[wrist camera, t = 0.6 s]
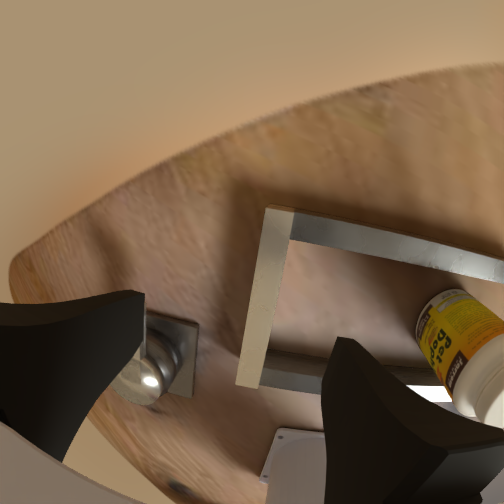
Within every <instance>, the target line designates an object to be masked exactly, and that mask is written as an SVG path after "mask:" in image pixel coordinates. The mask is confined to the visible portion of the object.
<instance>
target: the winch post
mask: <svg viewBox="0 0 504 504" xmlns="http://www.w3.org/2000/svg"><path fill="white" fill-rule="evenodd" d="M198 334H199V324H195V323H191V322H187V321H183V320H179V319H175V318H171V317H167V316H163V315H160V314H156V313H152V312H149V311H146V355H148V356H149V357H150V358H152V359H153V360H154V361H155V362H156V363H157V365H158V366H159V367H160V369H161V371H162V373H163V375H164V379H165V387H164V389H163V391H162V393H161V394H160V396H162V395H164V394H165V393H166V392H169V393H172V394H176V395H179V396H182V397H186V398H189V399H192V397H193V394H194V380H195V368H196V356H197V344H198ZM160 396H159V397H160Z"/></svg>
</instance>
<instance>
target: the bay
mask: <svg viewBox="0 0 504 504" xmlns="http://www.w3.org/2000/svg"><path fill="white" fill-rule="evenodd" d="M289 239H291V240H296V241H302V242H307V243H312V244H317V245H322V246H328V247H333V248H338V249H343V250H348V251H353V252H358V253H363V254H368V255H373V256H378V257H383V258H388V259H392V260H397V261H402V262H407V263H412V264H416V265H421V266H426V267H430V268H435V269H440V270H444V271H449V272H454V273H458V274H463V275H467V276H472V277H476V278H480V279H485V280H489V281H494V282H498V283H502V284H504V258H502V257H499V256H495V255H492V254H488V253H485V252H481V251H478V250H474V249H471V248H467V247H463V246H460V245H456V244H452V243H448V242H445V241H441V240H437V239H433V238H429V237H425V236H421V235H417V234H413V233H409V232H404V231H400V230H396V229H392V228H387V227H383V226H379V225H374V224H370V223H365V222H361V221H356V220H351V219H347V218H342V217H337V216H332V215H327V214H322V213H317V212H312V211H307V210H302V209H297V208H291V207H286V206H280V205H275V204H269V205H268V206H267V207H266V209H265V215H264V221H263V227H262V233H261V239H260V245H259V250H258V256H257V262H256V268H255V274H254V280H253V286H252V291H251V297H250V303H249V309H248V314H247V320H246V326H245V332H244V337H243V343H242V349H241V355H240V360H239V366H238V372H237V377H236V383H235V385H239V386H244V387H249V388H254V389H258V385H263V386H268V387H274V388H279V389H285V390H292V391H298V392H305V393H312V394H320V395H321V383H322V379H323V376H324V373H325V371H326V368H327V365H328V362H329V359H328V358H321V357H315V356H308V355H302V354H296V353H290V352H284V351H279V350H273V349H268V348H267V346H268V341H269V337H270V332H271V327H272V323H273V318H274V313H275V309H276V304H277V299H278V294H279V289H280V284H281V279H282V274H283V269H284V264H285V259H286V254H287V249H288V244H289ZM382 366H384V367H385V368H386V369H387V370H388V371H389V372H390V373H391V374H393V375H394V376H395V377H396V378H398V379H399V380H400V381H401V382H402V383H404V384H405V385H406V386H408V387H409V388H410V389H412V390H413V391H415V392H416V393H418V394H419V395H421V396H422V397H424V398H426V399H427V400H429V401H431V402H433V401H452V400H451V398H450V397H449V395H448V393H447V391H446V390H445V388H444V386H443V385H442V383H441V381H440V380H439V378H438V376H437V375H436V373H435V372H434V370H433V369H426V368H411V367H398V366H387V365H382Z"/></svg>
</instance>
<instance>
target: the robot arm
mask: <svg viewBox="0 0 504 504" xmlns="http://www.w3.org/2000/svg"><path fill="white" fill-rule="evenodd" d="M144 302H145V294H144V293H141V292H137V291H134V290H122V291H116V292H111V293H107V294H102V295H97V296H92V297H88V298H82V299H77V300H71V301H65V302H57V303H46V304H10V303H0V504H145V503H143V502H140V501H138V500H135V499H133V498H130V497H128V496H125V495H123V494H121V493H118V492H116V491H114V490H112V489H110V488H107V487H105V486H103V485H101V484H99V483H97V482H95V481H93V480H91V479H89V478H88V477H86V476H84V475H82V474H80V473H78V472H76V471H75V470H73V469H71V468H69V467H67V466H66V465H64V464H62V461H63V459H64V457H65V455H66V452H67V450H68V448H69V446H70V444H71V442H72V440H73V438H74V436H75V435H76V433H77V431H78V429H79V427H80V426H81V424H82V422H83V420H84V419H85V417H86V416H87V414H88V412H89V411H90V409H91V408H92V406H93V405H94V403H95V402H96V400H97V399H98V398H99V396H100V395H101V394H102V392H103V391H104V390H105V389H106V388H107V387H108V385H109V384H110V383H111V382H112V381H113V380H114V379H115V377H116V376H117V375H118V374H119V373H120V372H121V371H122V369H123V368H124V367H125V366H126V365H127V364H128V362H129V361H130V360H131V359H132V358H133V356H134V354H135V353H136V351H137V350H138V348H139V346H140V345H141V343H142V341H143V340H144ZM321 409H322V418H323V427H324V433H322V432H313V431H304V430H296V429H289V428H279V429H277V431H276V434H275V437H274V439H273V442H272V445H271V448H270V451H269V453H268V456H267V459H266V462H265V464H264V467H263V470H262V472H261V475H260V478H259V481H260V482H261V483H267V484H268V489H267V496H266V503H265V504H481V503H482V500H483V499H482V497H481V495H480V492H481V491H482V490H483V489H484V488H485V487H486V486H487V485H488V484H489V483H490V482H491V481H492V480H493V479H494V478H495V477H496V476H497V475H498V473H500V471H501V470H502V469H503V468H504V430H503V429H502V428H499V427H495V426H491V425H487V424H483V423H480V422H476V421H473V420H470V419H467V418H465V417H462V416H460V415H457V414H455V413H452V412H450V411H448V410H446V409H444V408H442V407H440V406H438V405H436V404H434V403H433V402H431V401H429V400H427V399H426V398H424V397H422V396H421V395H419V394H418V393H416V392H415V391H413V390H412V389H410V388H409V387H408V386H406V385H405V384H404V383H402V382H401V381H400V380H399V379H398V378H396V377H395V376H394V375H393V374H391V373H390V372H389V371H388V370H387V369H386V368H385V367H384V366H382V365H381V364H380V363H379V362H378V361H377V360H376V359H375V358H374V357H373V356H372V355H371V354H370V353H369V352H368V351H367V350H366V349H365V348H364V347H362V346H361V345H360V344H359V343H358V342H357V341H355V340H354V339H350V338H344V337H338V336H337V339H336V342H335V345H334V348H333V351H332V354H331V357H330V359H329V362H328V365H327V368H326V371H325V373H324V376H323V379H322V383H321ZM499 504H504V502H502V503H499Z"/></svg>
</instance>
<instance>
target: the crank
mask: <svg viewBox="0 0 504 504" xmlns="http://www.w3.org/2000/svg"><path fill="white" fill-rule="evenodd" d="M110 385H111V387H112V388H113V389H114V390H115V391H116V392H117V393H118V394H119V395H120V396H122V397H123V398H124V399H126V400H128V401H130V402H132V403H135V404H139V405H150V404H152V403H154V402H155V401H157V399H158V398H159V396H160V394H161V393H162V391H163V389H164V387H165V379H164V375H163V373H162V371H161V369H160V367H159V366H158V365H157V363H156V362H155V361H154V360H153V359H152V358H150V357H149V356H148V355H146V302H144V340H143V341H142V343H141V345H140V346H139V348H138V350H137V351H136V353H135V354H134V356H133V358H132V359H131V360H130V361H129V362H128V364H127V365H126V366H125V367H124V368H123V369H122V371H121V372H120V373H119V374H118V375H117V376H116V377H115V379H114V380H113V381H112V382H111V383H110Z"/></svg>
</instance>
